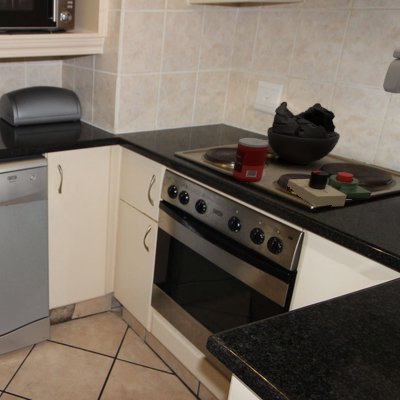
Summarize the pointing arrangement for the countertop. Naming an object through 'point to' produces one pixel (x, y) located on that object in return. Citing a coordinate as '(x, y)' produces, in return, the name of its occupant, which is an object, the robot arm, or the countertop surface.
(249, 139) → the canned food
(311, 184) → the oven knob
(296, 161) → the coal bowl
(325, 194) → the panel
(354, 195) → the button housing
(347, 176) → the button
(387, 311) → the countertop surface
